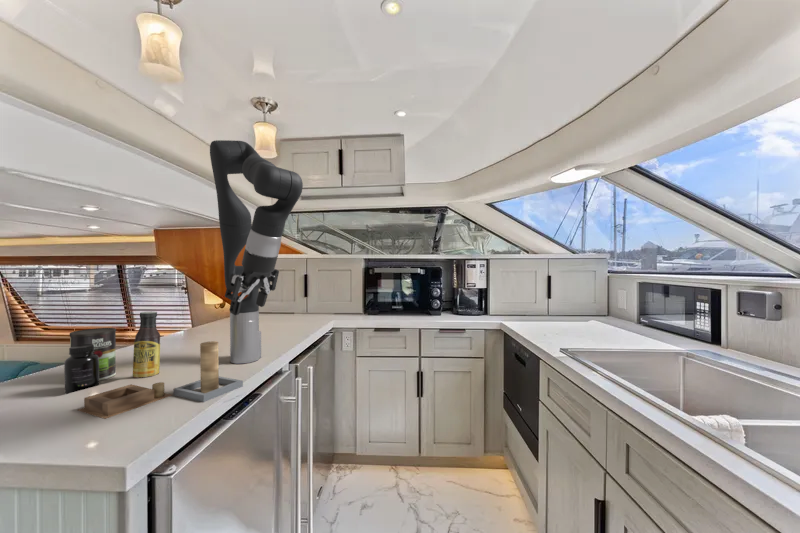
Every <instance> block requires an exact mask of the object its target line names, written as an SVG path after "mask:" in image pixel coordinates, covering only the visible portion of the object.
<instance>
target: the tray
mask: <svg viewBox="0 0 800 533" xmlns="http://www.w3.org/2000/svg"><path fill="white" fill-rule="evenodd" d="M219 385H223V386H221V387H219V388H218V389H215V390H213V391H210V392H207V393H201V391H197V390H195V389H199V388H201V379H198V380H196V381H192V382H190V383H187V384H183V385H180V386H178V387H174V388H173V391H172V392H173V394H172V396H175V397H180V398H183V399H188V400H193V401H196V402H201V403H205V402H209V401H210V400H213V399H215V398H218V397H220V396H223V395H225V394H228V393H231V392H233V391H235V390H239V388H242V387H244V382H243V380H241V379H236V378H231V377H227V376H226V377H224V376H219Z"/></svg>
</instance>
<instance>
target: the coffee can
mask: <svg viewBox="0 0 800 533" xmlns="http://www.w3.org/2000/svg"><path fill="white" fill-rule="evenodd" d="M116 333H117V328H113V327H98V328H88V329H87V328H86V329H81V330H80V329H79V330H75V331H71V332H69V340H70V342H69V346H70V347H72V346H77V345H83V344H93V345H94V352H93V353H94V354H96V355H98V357H99V382H100V381H103V380H107V379H111V378H113V377H114V376H116V374H117V372H116V370H117V369H116V368H117V367H116V366H117V365H116V362H117V361H116V357H117V356H116V353H117V352H116V348H117V344H116V339H117V337H116V336H117V335H116ZM70 347H69V348H70Z"/></svg>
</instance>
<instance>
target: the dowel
mask: <svg viewBox="0 0 800 533" xmlns="http://www.w3.org/2000/svg"><path fill="white" fill-rule="evenodd" d="M199 345H200V346H199V347H200V350H199V351H200V354H199V355H200V359H199V360H200V367H199V368H200V380H201V387H200V392H201V393H207V392H210V391H213V390H215V389H218V388H220V384H219V369H220V368H219V341H217V340H216V341H215V340H213V341H212V340H211V341H204V342H201V343H199Z"/></svg>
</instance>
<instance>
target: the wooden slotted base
mask: <svg viewBox="0 0 800 533" xmlns="http://www.w3.org/2000/svg"><path fill="white" fill-rule="evenodd" d="M151 387H152V388H147V387H144V386H140V385H139V386H138V385H135V384H128V385H123V386H121V387H117V388H113V389H110V390H107V391H104V392H99V393H96V394H93V395H90V396H86V397H84V398H83V399H84V400H83V401H84V403H83V405H84V407H82V408H79V409H77V411H79V412H82V413H85V414H88V415H91V416H95V417H97V418H101V419H104V420H107V419H110V418H111V417H115V416H117V415H121V414H123V413H126V412H129V411H131V410H135V409H137V408H141V407H143V406H147V405H149V404H152V403H155V402H158V401H161V400H163V399H167V398H169V397H172V396H173V394H172V393H167V392H165V382H164V381H163V382H162V381H160V382H155V383H153V384H152V385H151Z"/></svg>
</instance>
